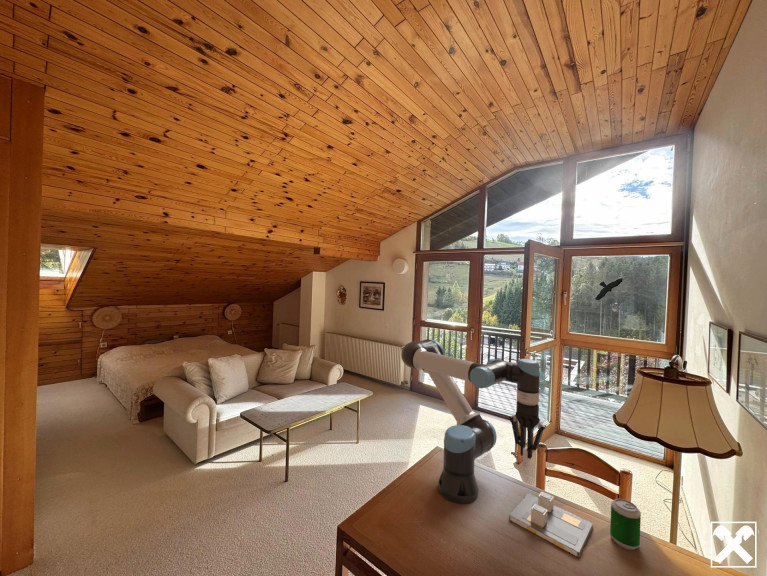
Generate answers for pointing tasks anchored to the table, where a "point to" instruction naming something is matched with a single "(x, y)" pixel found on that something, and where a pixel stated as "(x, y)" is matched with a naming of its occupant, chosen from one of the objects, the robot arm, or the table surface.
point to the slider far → (546, 501)
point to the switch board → (554, 526)
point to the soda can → (625, 524)
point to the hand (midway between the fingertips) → (525, 465)
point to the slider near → (539, 515)
